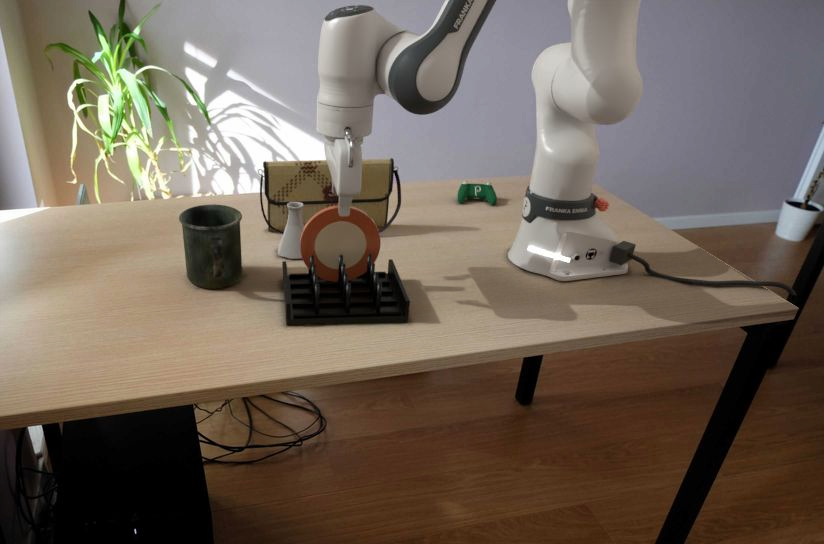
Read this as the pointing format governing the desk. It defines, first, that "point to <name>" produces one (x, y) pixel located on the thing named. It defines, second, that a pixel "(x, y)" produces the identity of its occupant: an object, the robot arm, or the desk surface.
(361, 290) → the rack
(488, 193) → the gaming controller
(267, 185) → the clutch purse
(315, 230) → the plate
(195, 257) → the mug
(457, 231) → the desk surface
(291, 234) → the flask
